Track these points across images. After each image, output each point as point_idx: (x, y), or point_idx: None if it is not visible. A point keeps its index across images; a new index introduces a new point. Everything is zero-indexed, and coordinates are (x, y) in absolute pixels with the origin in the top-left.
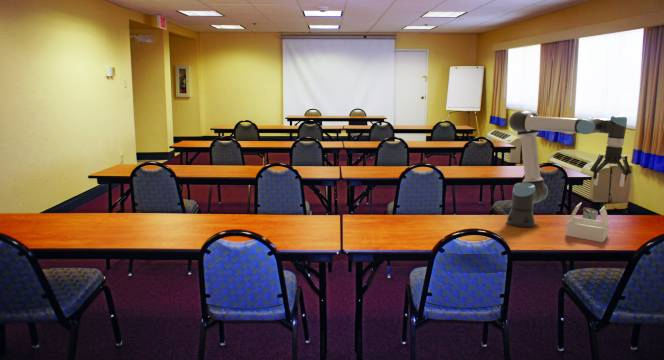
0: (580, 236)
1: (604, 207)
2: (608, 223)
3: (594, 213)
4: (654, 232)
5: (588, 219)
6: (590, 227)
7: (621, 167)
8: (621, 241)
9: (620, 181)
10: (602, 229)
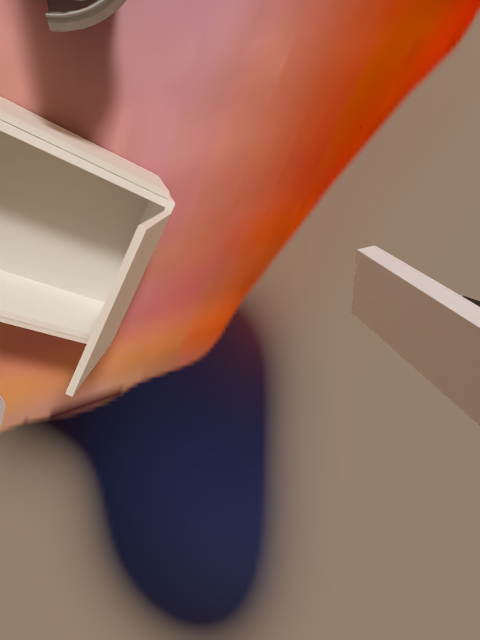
0: None
1: (135, 256)
2: None
3: (101, 4)
4: (453, 24)
5: (34, 144)
6: (31, 326)
7: None
8: (205, 257)
9: (396, 293)
10: None
